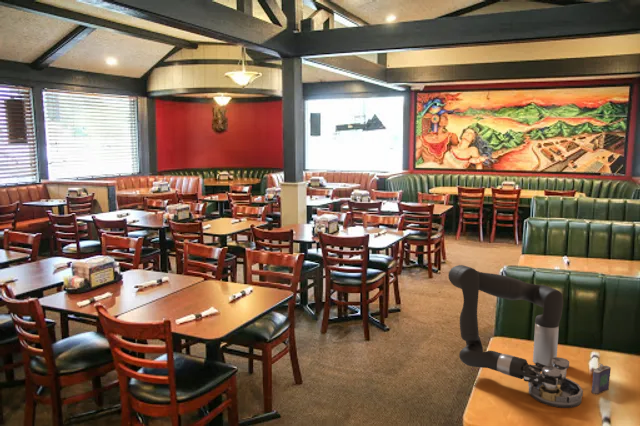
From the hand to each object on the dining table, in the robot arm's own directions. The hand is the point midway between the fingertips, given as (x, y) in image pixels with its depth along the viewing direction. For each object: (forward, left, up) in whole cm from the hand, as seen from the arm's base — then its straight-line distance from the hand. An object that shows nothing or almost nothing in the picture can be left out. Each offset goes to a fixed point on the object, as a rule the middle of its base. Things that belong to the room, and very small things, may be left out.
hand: (558, 379), depth 183 cm
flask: (-21, +9, -9) cm, 24 cm away
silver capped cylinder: (0, -3, -7) cm, 8 cm away
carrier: (-6, -3, -9) cm, 11 cm away
